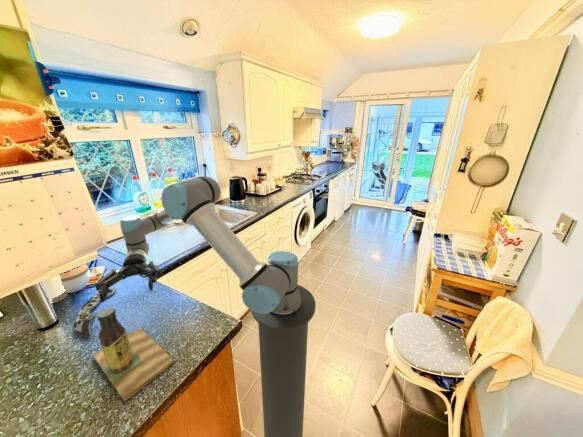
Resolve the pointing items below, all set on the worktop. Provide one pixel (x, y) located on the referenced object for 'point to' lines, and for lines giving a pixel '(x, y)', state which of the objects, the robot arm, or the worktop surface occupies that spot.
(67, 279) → the lidded bowl
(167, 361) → the chopping board
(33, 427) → the worktop surface
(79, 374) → the worktop surface
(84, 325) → the knife
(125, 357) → the sauce bottle
